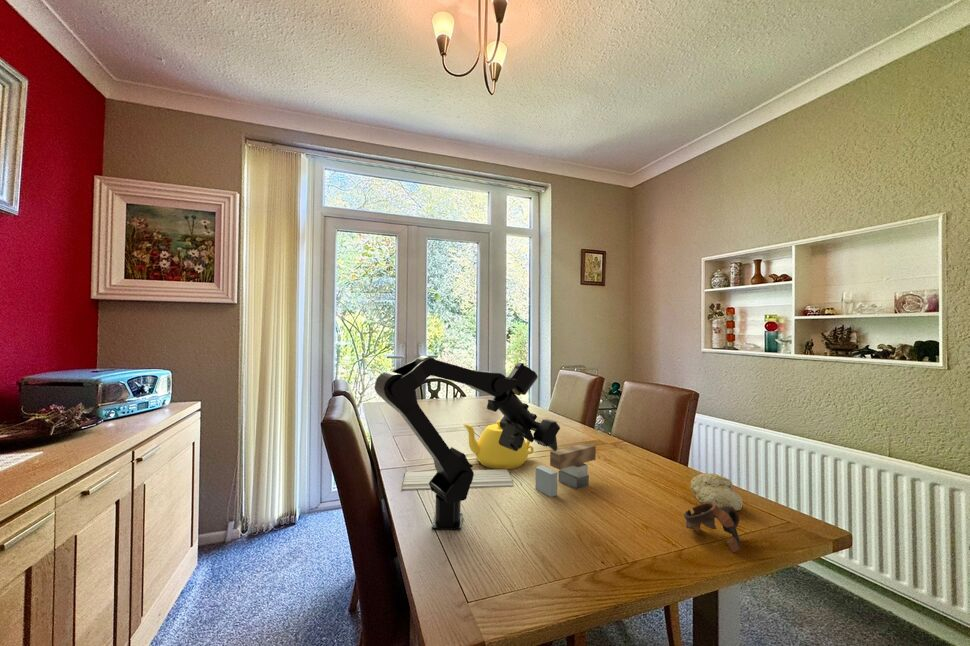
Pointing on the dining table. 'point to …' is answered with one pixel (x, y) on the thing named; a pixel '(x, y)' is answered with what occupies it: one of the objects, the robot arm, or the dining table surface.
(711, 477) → the decorative item
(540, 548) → the dining table surface
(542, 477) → the light gray rectangular block
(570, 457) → the batten
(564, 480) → the grey stepped block
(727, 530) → the dark curved fragment
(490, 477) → the baseboard molding
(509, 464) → the teapot
